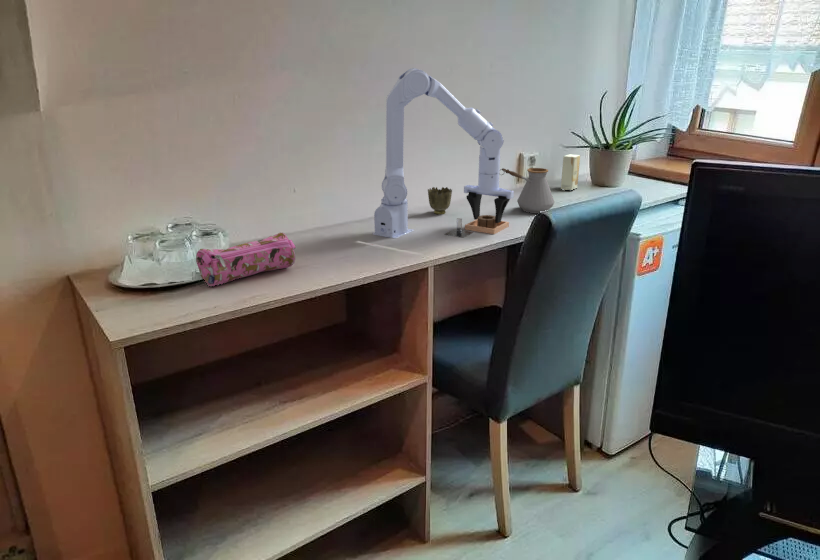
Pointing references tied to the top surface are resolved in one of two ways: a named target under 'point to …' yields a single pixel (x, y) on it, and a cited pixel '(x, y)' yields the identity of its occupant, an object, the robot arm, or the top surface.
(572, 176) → the skincare box
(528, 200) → the coffee pot
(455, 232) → the stand
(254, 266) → the pencil case
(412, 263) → the top surface
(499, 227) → the dish
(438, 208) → the cup
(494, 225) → the ring
